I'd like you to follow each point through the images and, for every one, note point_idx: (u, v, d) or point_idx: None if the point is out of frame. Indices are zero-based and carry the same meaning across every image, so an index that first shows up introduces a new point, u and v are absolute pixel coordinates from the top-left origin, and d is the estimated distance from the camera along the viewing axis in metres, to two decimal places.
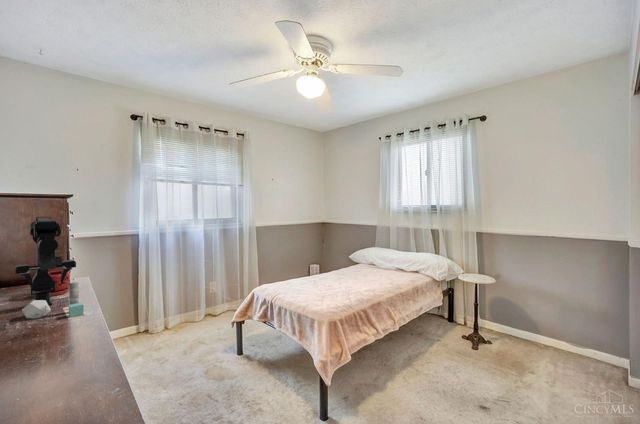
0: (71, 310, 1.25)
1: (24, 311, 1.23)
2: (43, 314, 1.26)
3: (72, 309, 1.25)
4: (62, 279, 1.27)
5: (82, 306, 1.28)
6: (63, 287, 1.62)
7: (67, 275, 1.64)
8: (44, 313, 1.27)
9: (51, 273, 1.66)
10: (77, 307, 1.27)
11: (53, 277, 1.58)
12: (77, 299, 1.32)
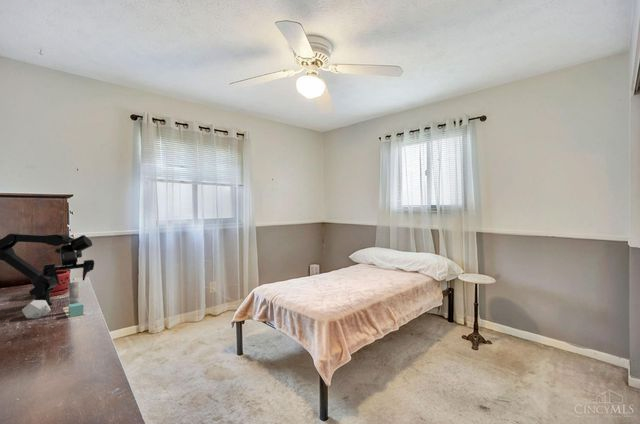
0: (71, 310, 1.25)
1: (24, 311, 1.23)
2: (43, 314, 1.26)
3: (71, 309, 1.26)
4: (84, 274, 1.42)
5: (82, 306, 1.28)
6: (63, 287, 1.62)
7: (67, 275, 1.64)
8: (44, 313, 1.27)
9: None
10: (77, 307, 1.27)
11: None
12: (77, 299, 1.32)
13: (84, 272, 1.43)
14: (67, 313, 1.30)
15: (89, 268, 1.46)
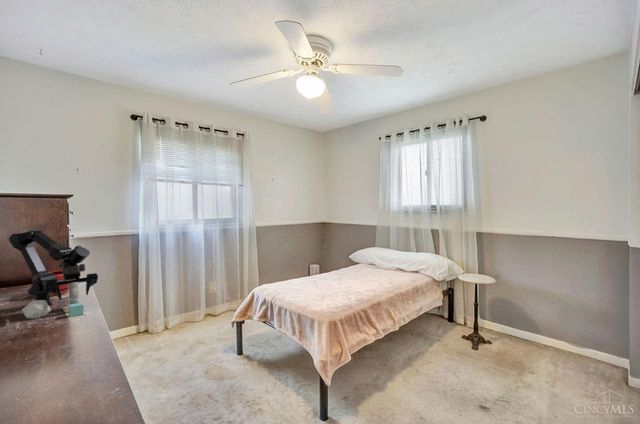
0: (71, 310, 1.25)
1: (24, 311, 1.23)
2: (43, 314, 1.26)
3: (71, 309, 1.26)
4: (87, 289, 1.36)
5: (82, 306, 1.28)
6: (63, 287, 1.62)
7: None
8: (44, 313, 1.27)
9: None
10: (77, 307, 1.27)
11: None
12: (77, 299, 1.32)
13: (87, 286, 1.37)
14: (67, 313, 1.30)
15: (92, 282, 1.41)
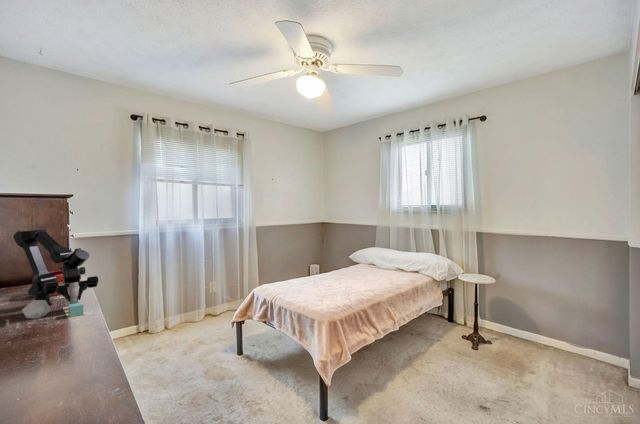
0: (71, 310, 1.25)
1: (24, 311, 1.23)
2: (43, 314, 1.26)
3: (71, 309, 1.26)
4: (80, 294, 1.33)
5: (82, 306, 1.28)
6: None
7: None
8: (44, 313, 1.27)
9: None
10: (77, 307, 1.27)
11: None
12: (77, 299, 1.32)
13: (80, 291, 1.34)
14: (67, 313, 1.30)
15: (85, 286, 1.38)
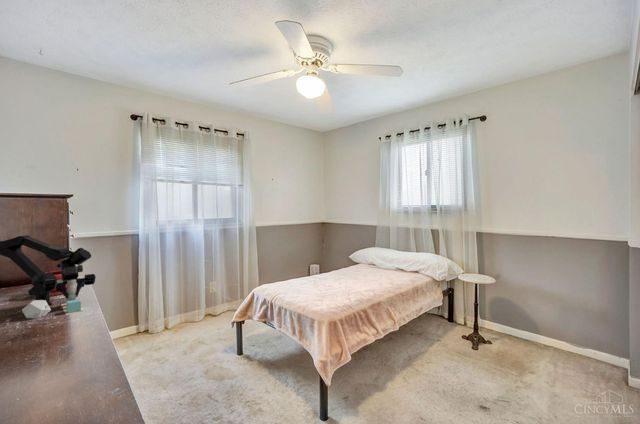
0: (68, 306, 1.30)
1: (24, 311, 1.23)
2: (43, 314, 1.26)
3: (69, 305, 1.30)
4: (77, 291, 1.38)
5: (79, 302, 1.33)
6: None
7: None
8: (44, 313, 1.27)
9: None
10: (74, 303, 1.32)
11: None
12: (75, 296, 1.37)
13: (78, 288, 1.39)
14: (65, 309, 1.35)
15: (83, 283, 1.42)
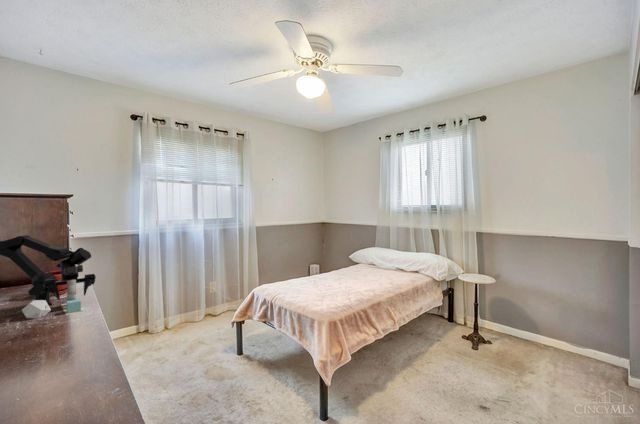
0: (68, 306, 1.30)
1: (24, 311, 1.23)
2: (43, 314, 1.26)
3: (69, 305, 1.30)
4: (85, 289, 1.40)
5: (79, 302, 1.33)
6: (63, 287, 1.62)
7: None
8: (44, 313, 1.27)
9: None
10: (74, 303, 1.32)
11: None
12: (75, 296, 1.37)
13: (85, 287, 1.41)
14: (65, 309, 1.35)
15: (90, 282, 1.44)
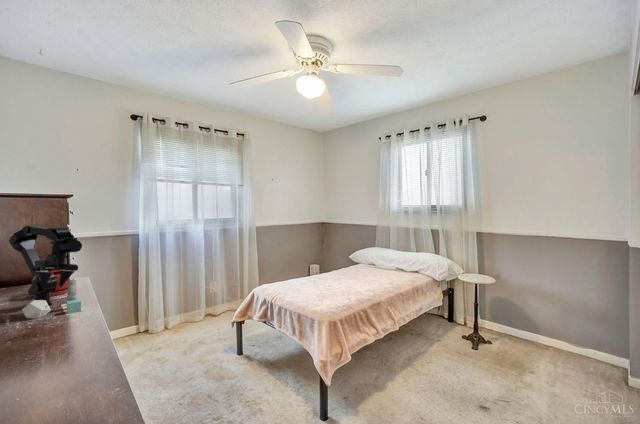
0: (69, 306, 1.30)
1: (24, 311, 1.23)
2: (43, 314, 1.26)
3: (69, 306, 1.30)
4: (60, 281, 1.35)
5: (80, 303, 1.32)
6: (63, 287, 1.62)
7: None
8: (44, 313, 1.27)
9: None
10: (75, 303, 1.31)
11: None
12: (75, 296, 1.37)
13: (60, 278, 1.35)
14: (65, 310, 1.34)
15: (68, 272, 1.37)
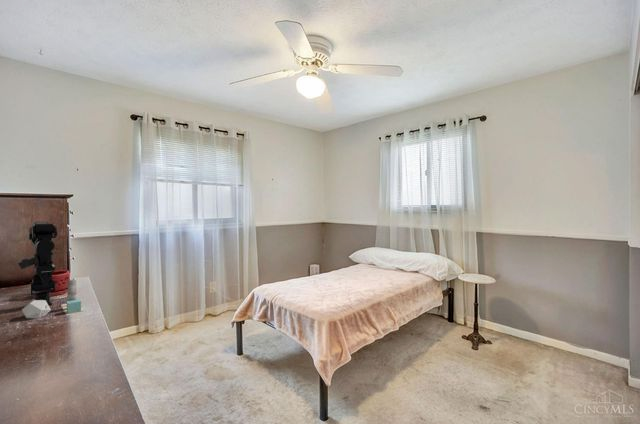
0: (69, 306, 1.30)
1: (24, 311, 1.23)
2: (43, 314, 1.26)
3: (69, 306, 1.30)
4: (42, 281, 1.30)
5: (80, 303, 1.32)
6: (63, 287, 1.62)
7: (67, 275, 1.64)
8: (44, 313, 1.27)
9: None
10: (75, 303, 1.31)
11: (53, 277, 1.58)
12: (75, 296, 1.37)
13: (41, 278, 1.30)
14: (65, 310, 1.34)
15: (45, 272, 1.29)
